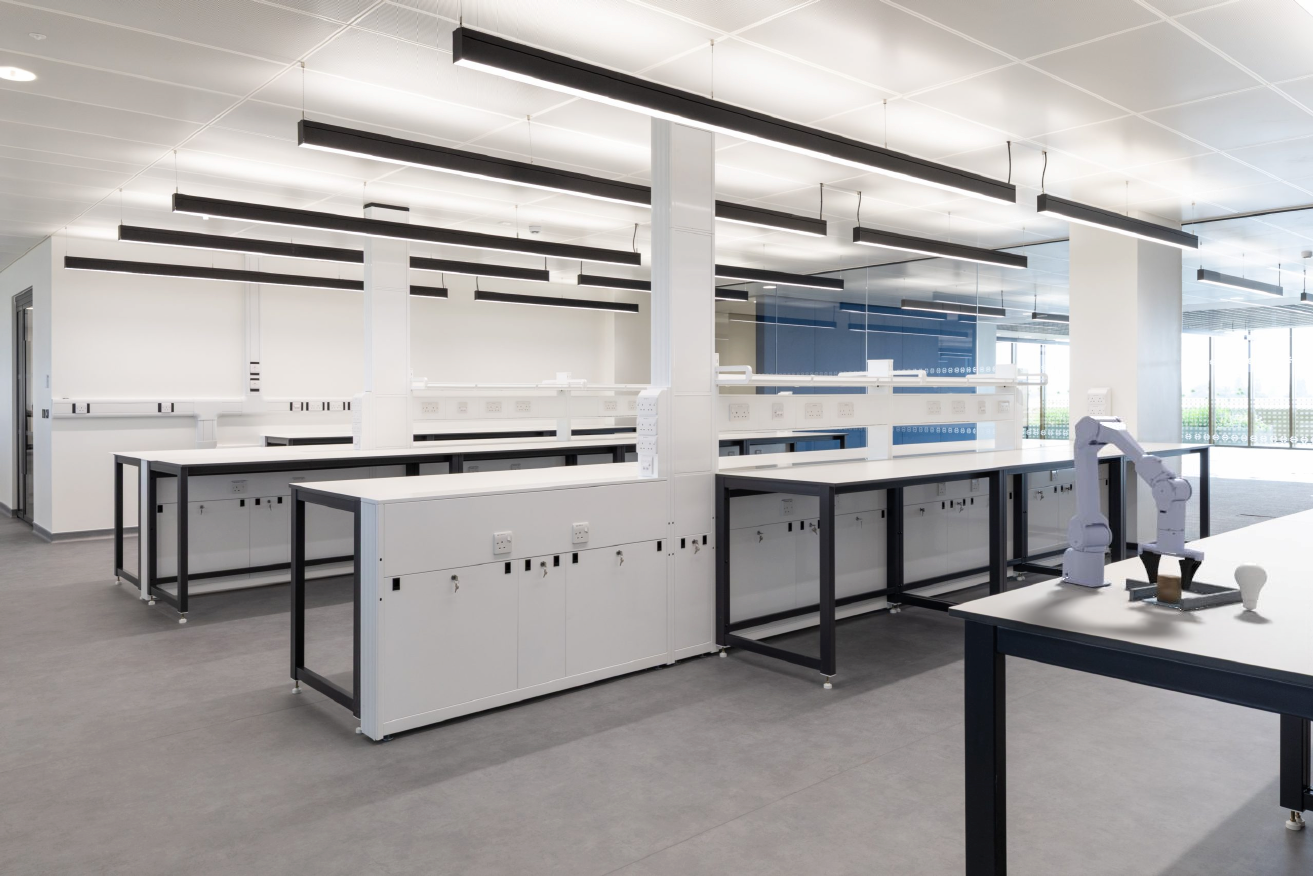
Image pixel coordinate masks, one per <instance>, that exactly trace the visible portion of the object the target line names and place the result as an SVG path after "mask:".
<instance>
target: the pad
mask: <svg viewBox="0 0 1313 876" xmlns="http://www.w3.org/2000/svg"><path fill="white" fill-rule="evenodd" d="M1144 601H1146V602H1145V603H1149V602H1150V604H1153V603H1156V604H1155V605H1158V604H1161V605H1160V606H1163V605H1166V606H1165V607H1168V606H1171V607H1170V608H1173V607H1179V608H1180V604H1168V603H1162V602H1158V601H1157V597H1151V598H1144V599H1141V602H1144Z"/></svg>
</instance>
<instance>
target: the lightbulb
mask: <svg viewBox="0 0 1313 876" xmlns="http://www.w3.org/2000/svg"><path fill="white" fill-rule="evenodd" d="M1234 580H1235V582H1236V583H1237V585H1238V587H1239V589H1240V590H1241V595H1242V598H1243V601H1242V607H1243V608H1244V609H1246V611H1248V612H1249V611H1254V610H1255V609H1257V605H1258V604H1257V603H1258V600H1259V597H1260V593H1261V590H1262V589H1263V587H1264V586H1265V584H1266V583H1267V580H1268V575H1267V572H1266V570H1265V568H1263V567H1262V566H1261V565H1260V564H1258V563H1254V562H1244V563H1241V564H1239V565H1238V566H1237V567H1236V569H1235V570H1234Z"/></svg>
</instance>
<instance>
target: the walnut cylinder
mask: <svg viewBox="0 0 1313 876" xmlns="http://www.w3.org/2000/svg"><path fill="white" fill-rule="evenodd" d="M1182 591H1183V590H1181V575H1174V574H1163V573H1161V574H1158V575H1157V597H1156V598H1157V601H1158V602H1162V603H1168V604H1180V599H1182V594H1183V593H1182Z"/></svg>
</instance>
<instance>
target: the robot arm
mask: <svg viewBox="0 0 1313 876" xmlns="http://www.w3.org/2000/svg"><path fill="white" fill-rule="evenodd" d="M1074 430H1075V431H1074V433H1075V434H1074V435H1075V440H1074V443H1073V461H1074V462H1073V463H1074V478H1075V480H1074V481H1075V496H1076V514H1075V515H1073V517H1072V518H1070V520H1069V527H1068V531H1067V533H1066V534H1067V535H1066V536H1067V542H1068V544H1069V546H1070V547H1068V548H1067V549H1066V550H1065V551H1064V552H1063V555H1062V579H1063V578H1065V579H1064V580H1061V579H1060V581H1061V582H1067V583H1070V584H1075V585H1079V586H1084V587H1091V588H1096V587H1102V586H1103V587H1104V586H1110V585H1112V582H1110V581H1105V556H1106V555H1105V553H1106V551H1107V550H1108V546H1110V545H1111V543H1112V542H1113V541H1112V540H1113V533H1112V530H1111V529H1110V526H1109V520H1108V518H1107V517H1106V516H1104V515H1103V513H1102V511H1101V499H1100V498H1101V495H1100V494H1101V493H1100V482H1099V481H1100V479H1099V464H1098V463H1099V461H1098V453H1099V452H1100V451H1101V450H1102V449H1103V448H1104V447H1106V446H1107V445H1109V444H1111V445H1114V446H1115V447H1116V448H1117V449H1118V450H1120V451H1121V453H1122V454H1124V455H1125V456H1126V457H1127V458H1128V459H1129V460H1130V461H1132V462H1133V463H1134V464H1135V465H1134V470H1135V471H1134V472H1136V474H1137V475H1139V477H1140V478H1142V480H1143V481H1144V482H1145V483H1146V484H1147V485H1148V486H1149V487H1150V488H1151V495H1152V497H1153V500H1154V501H1155V507H1156V510H1157V513H1156V543H1147V542H1140V543H1137V552H1141V553H1140V554H1139V553H1138V557H1139V559H1140V560H1141V562H1142V564H1143V566H1144V570H1145V571H1146V575H1147V579H1148V582H1149V583H1150V584H1154V583H1157V575H1159V567H1160V562H1161V558H1162V555H1163V556H1170V557H1175V558H1182V559H1178V564H1179V569H1180V570H1179V571H1180V577H1181V590H1182V591H1188V589H1190V585H1191V582H1192V581H1193V579H1194V577H1195V575H1196V573H1197V571H1198V570H1199V568H1200V567H1201V565H1202V563H1203V561H1205V552H1204V551H1201V550H1193V549H1192V548H1191V549H1190V548H1186V547H1185V543H1186V542H1185V539H1186V514H1187V511H1186V509H1187V508H1186V507H1187V506H1186V505H1187V501H1189V500H1190V499H1191V497H1192V495H1193V487H1192V485H1191V483H1190V482H1189V480H1188V478H1187V479H1186V478H1184V477H1178V475H1176V473H1175V472H1174V471H1171V470H1170V469H1169V468H1168V467H1167V466H1166V464H1164V463H1163V459H1162V458H1161V456H1156V455H1155V454H1150V455H1148V454H1147V452H1145V450H1144V449H1143V448H1142V447H1141V445H1140V444H1139V443H1138V442H1137V441H1136V440H1135V438H1134V437H1133V436H1132V435H1131V434H1130V432H1128V430H1127V424H1125V423H1124V422H1122V420H1121V419H1120V418H1119V417H1118V416H1115V415H1110V416H1090V415H1086V416H1083V417H1082V418H1081V419H1080V420H1078V422H1077V423H1076V424H1074ZM1066 577H1068V578H1066Z"/></svg>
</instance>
